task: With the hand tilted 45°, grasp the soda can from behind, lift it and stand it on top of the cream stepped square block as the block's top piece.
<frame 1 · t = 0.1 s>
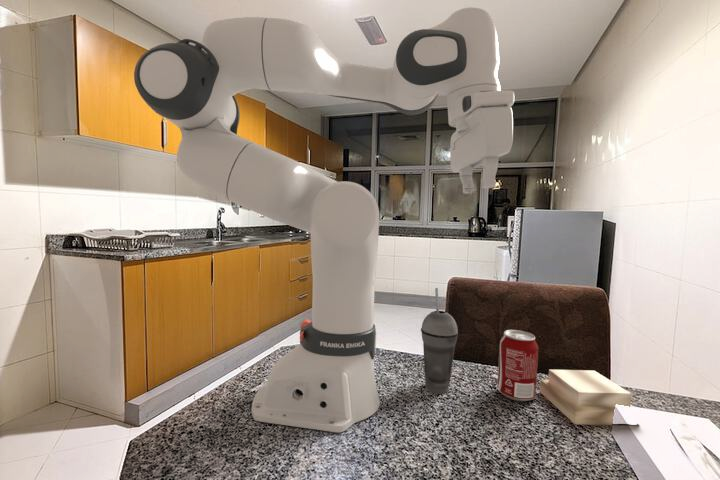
hand: (477, 190, 61), 39 cm above the table, tool pointing down, fingers open, 8 cm apart
cream stepped square block: (585, 407, 63), on the table
soda can: (515, 395, 67), on the table
beverage cup: (436, 389, 69), on the table
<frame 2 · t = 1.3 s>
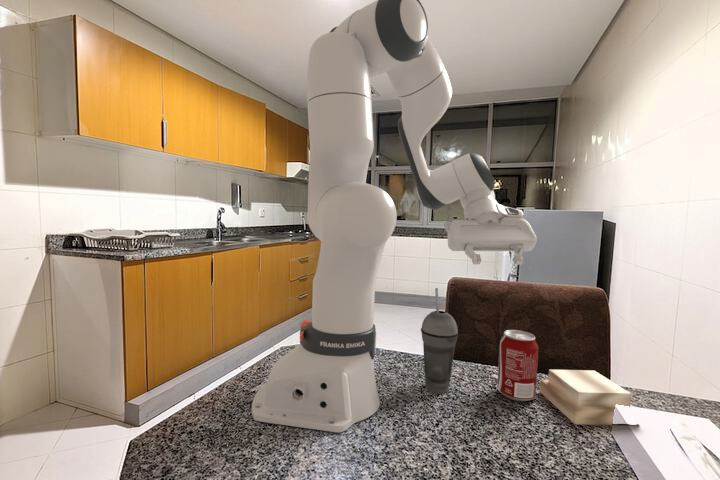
hand: (498, 263, 78), 24 cm above the table, tool tilted 45°, fingers open, 8 cm apart
nothing on the table moved.
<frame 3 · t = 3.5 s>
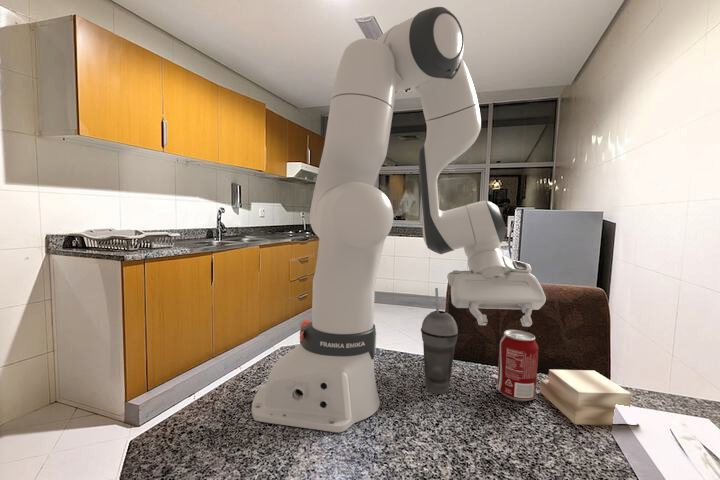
hand: (505, 324, 73), 12 cm above the table, tool tilted 45°, fingers open, 8 cm apart
nothing on the table moved.
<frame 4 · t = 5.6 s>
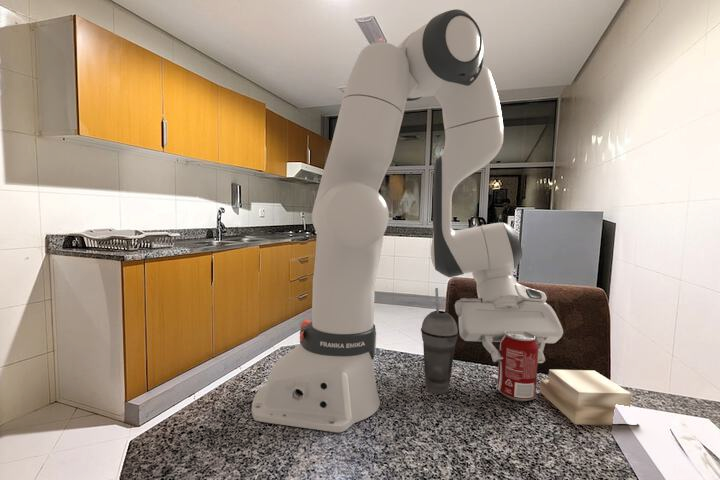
hand: (519, 361, 66), 7 cm above the table, tool tilted 45°, fingers closed on soda can, 7 cm apart
soda can: (515, 395, 67), on the table, touching gripper
everything else where it was.
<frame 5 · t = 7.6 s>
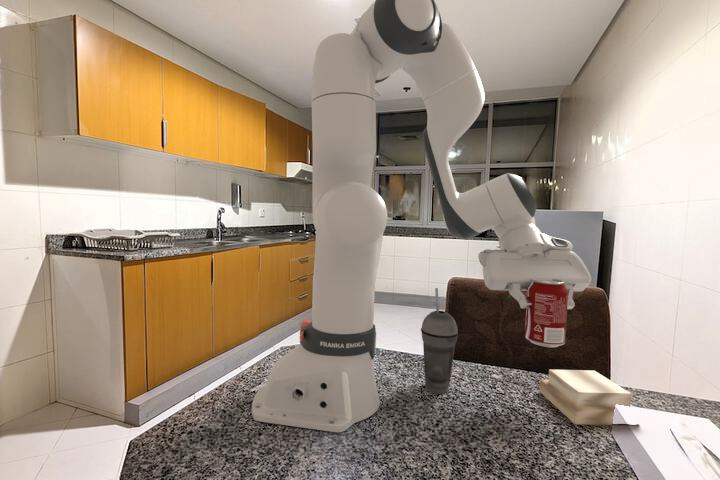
hand: (548, 307, 64), 18 cm above the table, tool tilted 45°, fingers closed on soda can, 7 cm apart
soda can: (544, 343, 66), point 11 cm above the table, touching gripper
everything else where it was.
when the fingers open (13 cm above the table, at t = 10.0 s): soda can drops 1 cm, resting on cream stepped square block.
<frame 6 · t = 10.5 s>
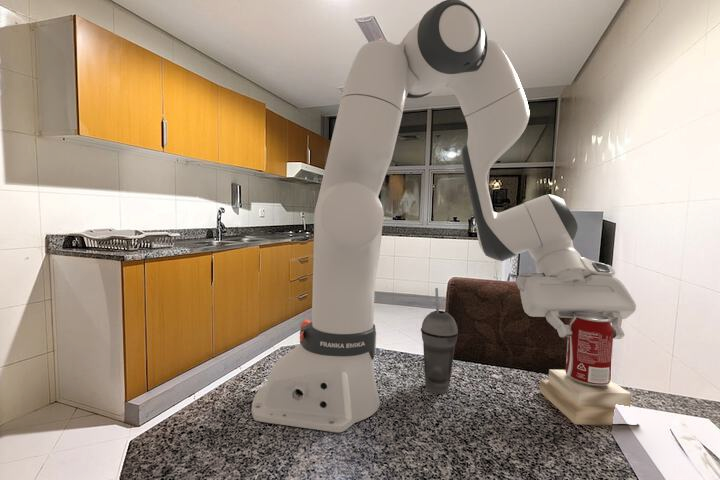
hand: (592, 336, 62), 13 cm above the table, tool tilted 45°, fingers open, 8 cm apart
soda can: (586, 381, 63), point 5 cm above the table, touching cream stepped square block
everything else where it was.
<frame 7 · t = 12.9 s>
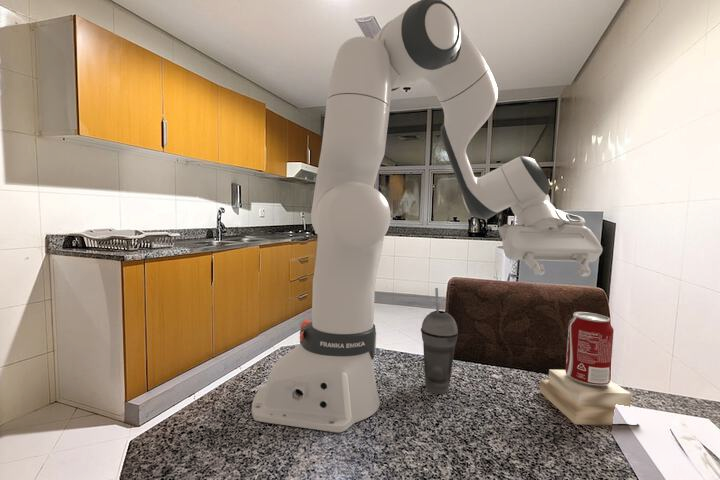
hand: (563, 274, 71), 23 cm above the table, tool tilted 45°, fingers open, 8 cm apart
nothing on the table moved.
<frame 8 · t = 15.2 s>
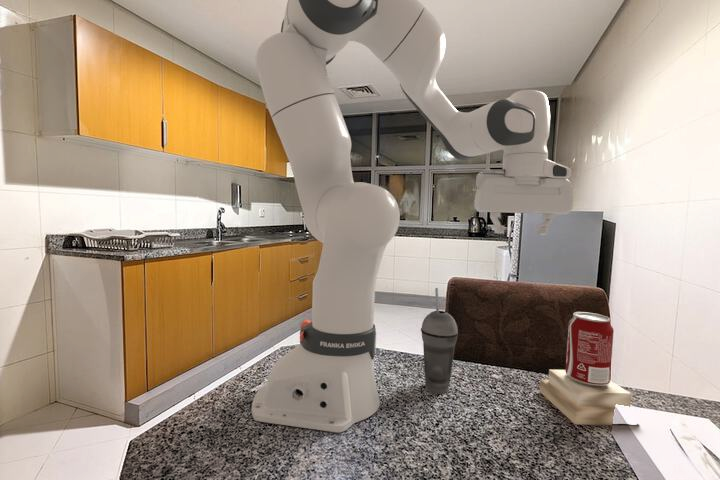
hand: (520, 234, 75), 31 cm above the table, tool pointing down, fingers open, 8 cm apart
nothing on the table moved.
at the end: soda can 0.1 cm off-centre on the cream stepped square block, point 4.8 cm above the cream stepped square block's base; soda can tilted 0°; the gripper is holding nothing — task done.
